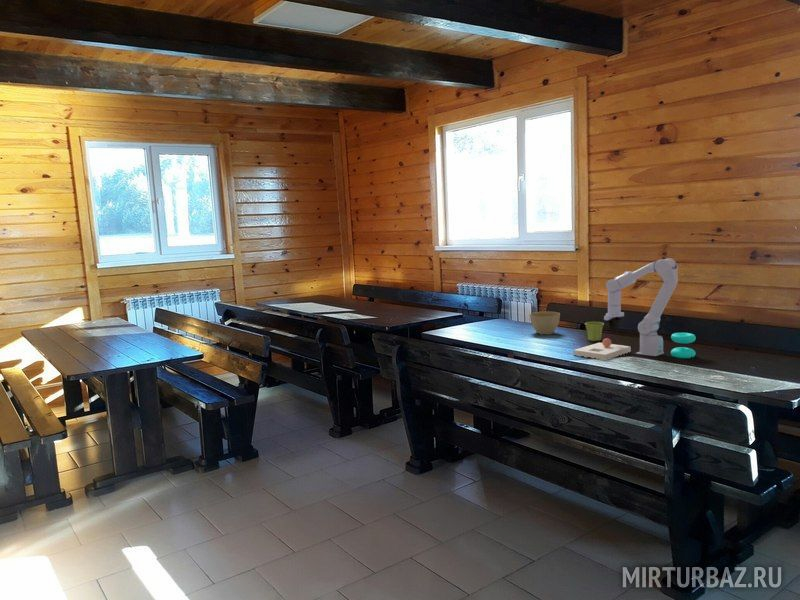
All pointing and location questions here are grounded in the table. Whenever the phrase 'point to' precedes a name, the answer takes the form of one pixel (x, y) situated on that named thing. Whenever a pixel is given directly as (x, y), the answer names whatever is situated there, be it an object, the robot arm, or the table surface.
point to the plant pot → (594, 330)
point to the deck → (602, 351)
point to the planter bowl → (545, 322)
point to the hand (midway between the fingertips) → (614, 333)
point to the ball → (606, 342)
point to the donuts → (682, 351)
